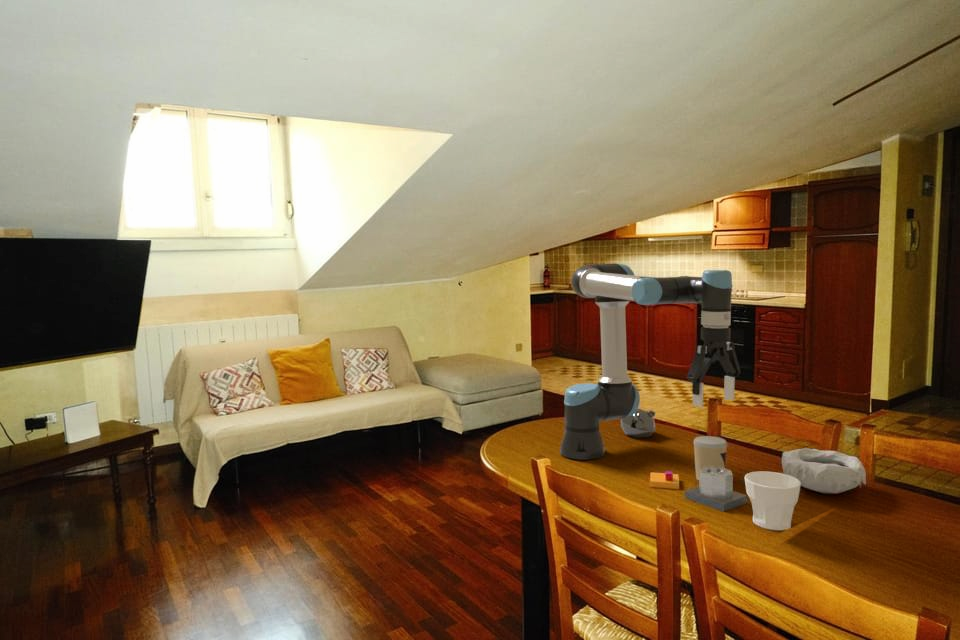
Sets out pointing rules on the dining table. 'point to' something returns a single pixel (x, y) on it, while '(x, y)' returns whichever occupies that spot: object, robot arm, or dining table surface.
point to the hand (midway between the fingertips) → (713, 402)
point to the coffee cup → (709, 452)
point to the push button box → (664, 480)
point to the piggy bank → (639, 424)
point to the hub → (715, 482)
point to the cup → (772, 498)
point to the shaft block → (716, 499)
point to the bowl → (824, 470)
